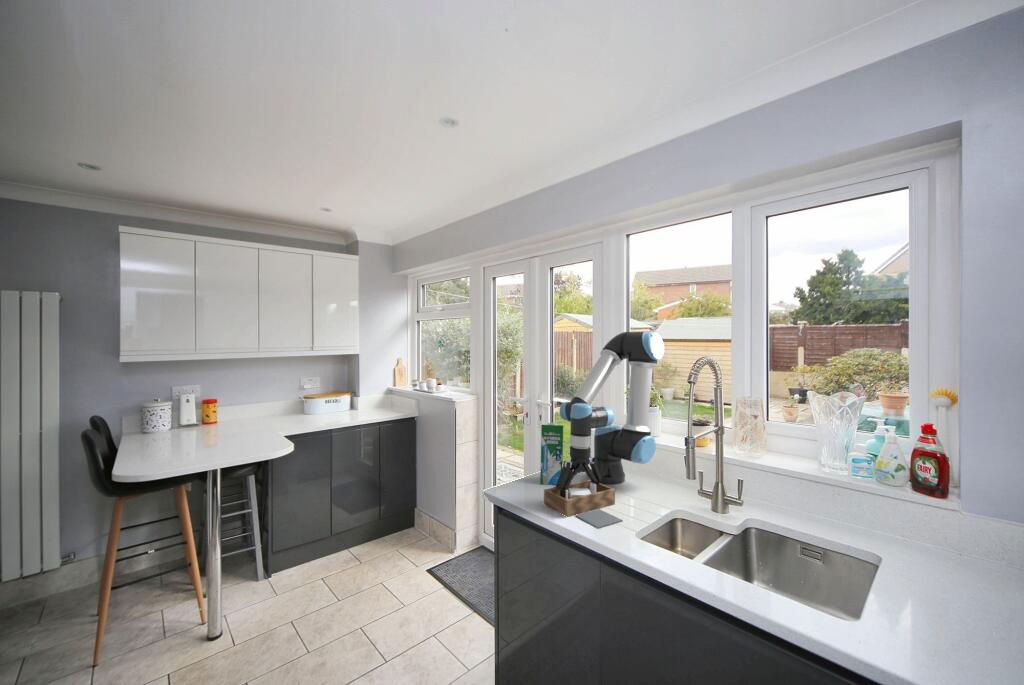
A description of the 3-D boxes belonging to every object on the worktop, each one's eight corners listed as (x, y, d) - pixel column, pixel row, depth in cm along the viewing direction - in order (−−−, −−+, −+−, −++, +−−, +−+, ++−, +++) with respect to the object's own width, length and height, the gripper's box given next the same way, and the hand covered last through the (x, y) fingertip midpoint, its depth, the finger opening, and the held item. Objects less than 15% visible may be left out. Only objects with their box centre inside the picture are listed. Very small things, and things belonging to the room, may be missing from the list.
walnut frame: (590, 493, 168) (590, 479, 168) (614, 504, 157) (615, 489, 157) (543, 504, 156) (543, 489, 156) (566, 517, 145) (567, 501, 145)
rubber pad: (599, 510, 152) (599, 508, 152) (622, 521, 142) (622, 520, 142) (575, 516, 146) (575, 515, 146) (598, 528, 136) (598, 527, 136)
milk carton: (561, 478, 186) (562, 421, 186) (562, 485, 177) (563, 425, 177) (541, 477, 187) (542, 420, 187) (540, 484, 178) (541, 424, 178)
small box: (592, 509, 152) (592, 495, 152) (570, 509, 152) (570, 494, 152) (588, 501, 160) (588, 487, 160) (567, 501, 160) (567, 487, 160)
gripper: (597, 440, 166) (596, 495, 166) (546, 447, 153) (545, 507, 153) (612, 444, 160) (610, 501, 160) (560, 452, 146) (558, 514, 146)
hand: (578, 504), depth 156 cm, fingers open, 13 cm apart
